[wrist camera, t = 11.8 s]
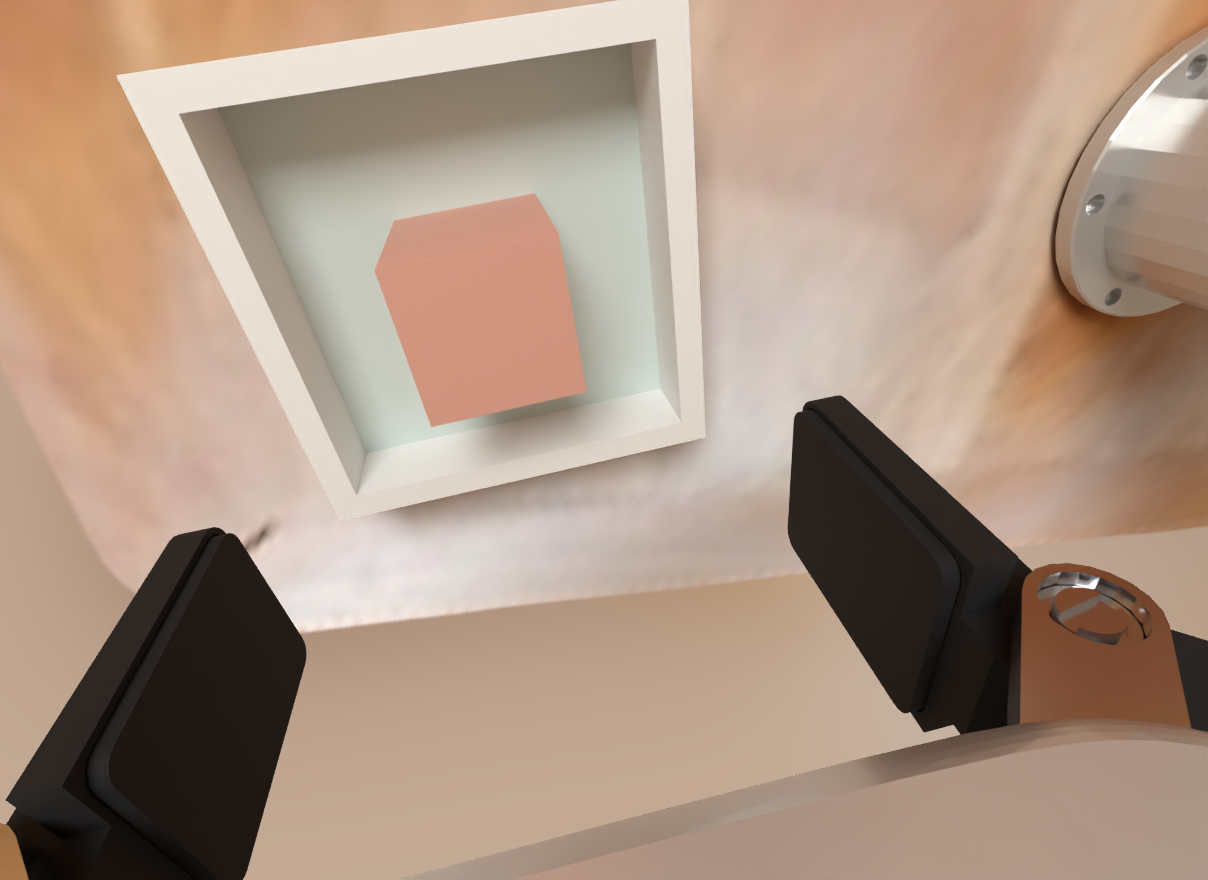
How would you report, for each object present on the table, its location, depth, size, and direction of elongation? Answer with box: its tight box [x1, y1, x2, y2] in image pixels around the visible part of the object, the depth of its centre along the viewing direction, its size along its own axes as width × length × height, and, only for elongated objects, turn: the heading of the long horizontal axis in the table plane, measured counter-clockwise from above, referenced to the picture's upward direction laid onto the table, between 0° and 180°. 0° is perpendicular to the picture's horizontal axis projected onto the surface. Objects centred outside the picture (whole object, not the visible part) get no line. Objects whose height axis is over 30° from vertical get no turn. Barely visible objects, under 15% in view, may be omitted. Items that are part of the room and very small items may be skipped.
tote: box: [116, 0, 706, 521], centre depth 22 cm, size 15×15×4 cm
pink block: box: [375, 193, 587, 427], centre depth 20 cm, size 5×5×6 cm
